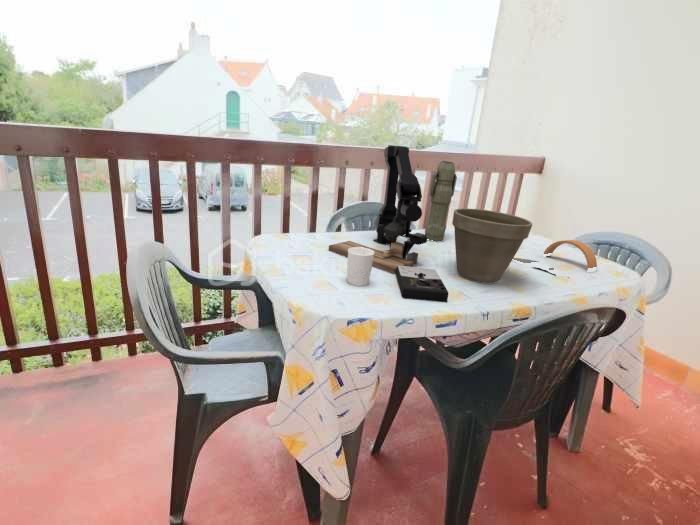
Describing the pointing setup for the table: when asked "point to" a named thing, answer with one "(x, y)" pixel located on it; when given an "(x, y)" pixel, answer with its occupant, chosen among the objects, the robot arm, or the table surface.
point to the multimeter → (421, 284)
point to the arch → (583, 247)
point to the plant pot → (487, 242)
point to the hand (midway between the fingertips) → (397, 255)
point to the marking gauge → (395, 250)
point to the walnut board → (377, 257)
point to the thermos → (440, 200)
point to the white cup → (359, 265)
